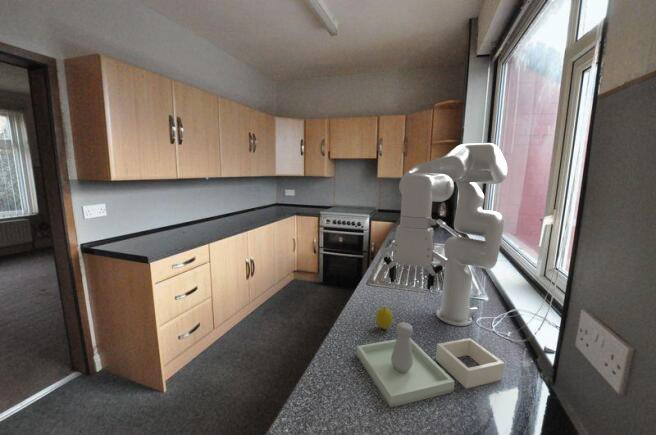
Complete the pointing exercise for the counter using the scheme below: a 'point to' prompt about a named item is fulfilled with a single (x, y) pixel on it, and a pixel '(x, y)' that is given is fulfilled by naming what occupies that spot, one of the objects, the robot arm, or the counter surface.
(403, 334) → the salt shaker
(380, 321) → the lemon
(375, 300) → the counter surface
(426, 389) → the tray
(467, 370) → the square frame
